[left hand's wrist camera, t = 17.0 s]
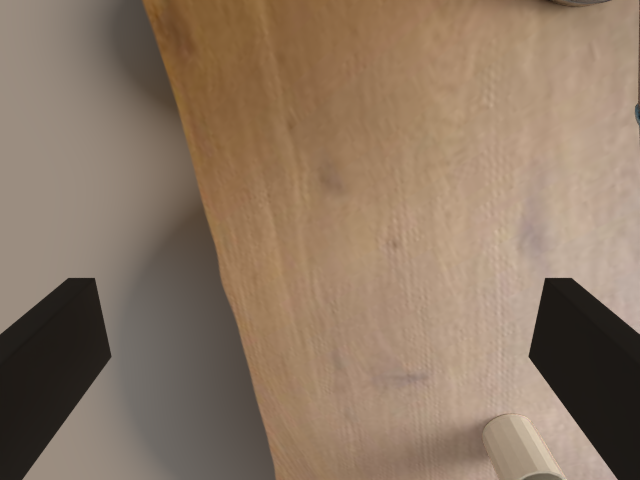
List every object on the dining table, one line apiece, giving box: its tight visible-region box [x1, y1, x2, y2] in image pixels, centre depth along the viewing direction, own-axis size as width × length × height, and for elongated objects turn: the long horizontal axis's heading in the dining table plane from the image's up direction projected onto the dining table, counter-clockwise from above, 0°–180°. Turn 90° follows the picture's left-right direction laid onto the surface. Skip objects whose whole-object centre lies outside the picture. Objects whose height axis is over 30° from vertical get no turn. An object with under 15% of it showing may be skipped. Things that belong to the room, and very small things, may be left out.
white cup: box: [482, 414, 567, 480], centre depth 56 cm, size 7×7×9 cm
